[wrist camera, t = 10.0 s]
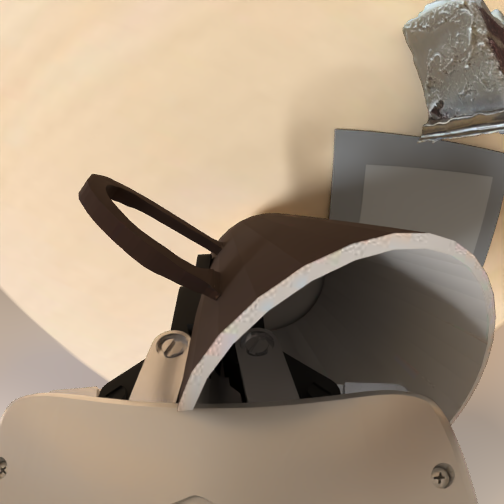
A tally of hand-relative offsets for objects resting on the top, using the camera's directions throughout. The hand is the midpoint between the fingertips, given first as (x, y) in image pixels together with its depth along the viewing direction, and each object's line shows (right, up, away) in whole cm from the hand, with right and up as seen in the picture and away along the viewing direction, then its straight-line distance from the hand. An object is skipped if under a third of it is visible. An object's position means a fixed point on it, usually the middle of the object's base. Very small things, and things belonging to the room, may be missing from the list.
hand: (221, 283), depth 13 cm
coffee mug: (+2, +1, +2) cm, 3 cm away
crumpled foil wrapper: (+17, +13, 0) cm, 22 cm away
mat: (+12, +2, +4) cm, 13 cm away
